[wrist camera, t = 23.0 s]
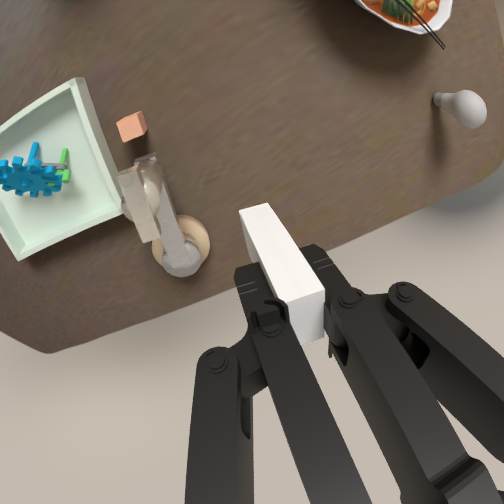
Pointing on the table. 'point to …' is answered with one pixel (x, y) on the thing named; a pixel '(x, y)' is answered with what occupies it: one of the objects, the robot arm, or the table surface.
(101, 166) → the tray
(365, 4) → the ramen bowl
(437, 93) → the lightbulb
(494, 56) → the table surface
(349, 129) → the table surface
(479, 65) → the table surface
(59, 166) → the gear
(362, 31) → the table surface
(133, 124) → the post
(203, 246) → the crank pedestal
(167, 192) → the crank
